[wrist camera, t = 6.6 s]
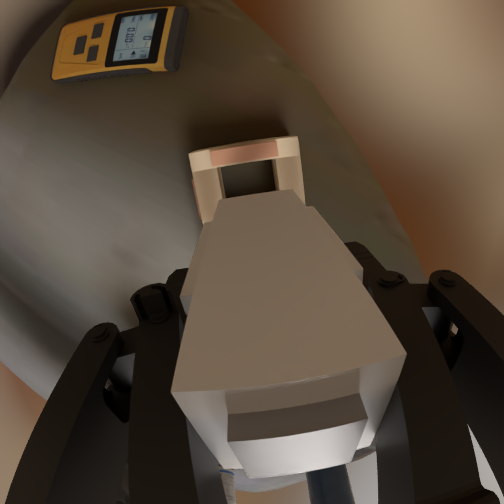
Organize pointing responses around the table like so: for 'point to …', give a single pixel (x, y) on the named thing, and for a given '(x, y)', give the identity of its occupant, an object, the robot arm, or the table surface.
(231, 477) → the supplement tub
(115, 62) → the electronic device
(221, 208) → the plug
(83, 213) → the table surface
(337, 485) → the lamp
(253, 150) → the socket block
